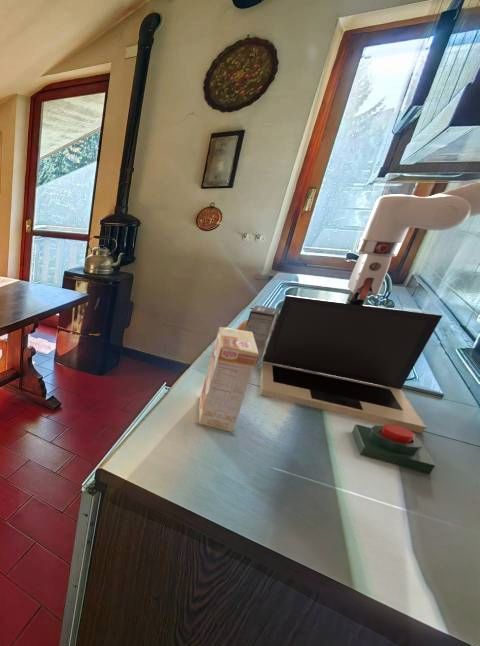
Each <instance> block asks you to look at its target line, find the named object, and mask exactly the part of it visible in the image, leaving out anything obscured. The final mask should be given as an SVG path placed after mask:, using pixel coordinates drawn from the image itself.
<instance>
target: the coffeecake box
mask: <svg viewBox="0 0 480 646" xmlns="http://www.w3.org/2000/svg"><path fill="white" fill-rule="evenodd" d="M213 345H214V346H213V348H212V349H213V350H212V352H211V355H210V360H209V363H208V367H207V370H206V374H205V378H204V381H203V385H202V389H201V392H200V395H199V408H198V409H199V410H198V424H199V425H201V426H204V427H205V426H206V427H210V428H215V429H218V430H221V431H226V432H230V433H234V430H235V428H236V427H235V426H236V424H237V421H238V418H239V416H240V415H239V414H240V411H241V408H242V406H243V403H244V400H245V397H246V395H247V391H248V388H249V385H250V381H251V378H252V375H253V372H254V369H255V365H256V364H255V363H256V360H257V357H258V355H259V354H258V350H257V346H256V343H255V339H254V336H253V333H252V332H249V331H242V330H237V328H236V329H235V328H231V327H224V326H219V327H218V331H217V335H216V338H215V342H214V344H213Z"/></svg>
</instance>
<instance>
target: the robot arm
mask: <svg viewBox="0 0 480 646" xmlns="http://www.w3.org/2000/svg"><path fill="white" fill-rule="evenodd" d="M479 215H480V180H479V181H475V182H472V183H469V184H466V185H463V186H459V187H456V188H452V189H450V190H446V191H443V192H440V193H436V194H434V195H431V196H416V195H408V194H407V195H406V194H386V195H381V196H380V197H378V199H376V201H375V203H374V205H373V208H372V210H371V213H370V214H369V218H368V220H367V223H366V224H365V228H364V230H363V233H362V236H361V237H360V240H359V243H358V244H357V247H356V250H355V253H356V254H359V256H358V258H357V261H356V263H355V264H354V267H353V269H352V271H351V275H350V277H349V280H348V283H347V288H348V289H349V294H348V296H347V298H346V301H345V303H352V304H360V305H365V304H364V303H365V302H366V300H367V297H368V296H369V294H371V295H372V296H373V297H376V296H378V295H379V293H380V291H381V289H382V287H383V284H384V281H385V279H386V277H387V273H388V271H389V268H390V264H391V261H392V258H393V257H397V256H398V254H399V251H400V249H401V247H402V245H403V242H404V241H405V239H406V236H407V234H408V232H409V229H410V228H416V229H422V230H427V231H447V230H449V229H453V228H455V227H458V226H460V225H461V224H463V223H464V222H465V221H466V220H467V219H468V218H471V217H474V216H479Z"/></svg>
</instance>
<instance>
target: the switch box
mask: <svg viewBox="0 0 480 646" xmlns="http://www.w3.org/2000/svg"><path fill="white" fill-rule="evenodd" d="M383 427H384V425H374V426H372V427H369V426H366V425H360V424H357V423H356V424H355V425H354V427H353V429H352V431H351V434H352V436H353V440H354V442H355V445H356V448H357V450H358V453H359V456H361V457H365V458H368V459H372V460H377V461H380V462H383V463H387V464H390V465H394V466H398V467H402V468H404V469H409V470H411V471H416V472H419V473H423V474H427V475H431V473H432V472H433V470H434V469H435V468H436V464H435V463H434V462H433V460H432V458H431V456H430V455H429V453H428V452H427V450H426V448H425V446H424V443H423V442H422V441H421V439H419V438H418V437H416V436H414V438H413V440H412V441H411V443H401V442H397V441H394V440H392V439H389V438H387V437H385V436H383V435H382V434H381V431H382V429H383Z"/></svg>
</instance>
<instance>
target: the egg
mask: <svg viewBox="0 0 480 646" xmlns="http://www.w3.org/2000/svg"><path fill="white" fill-rule="evenodd" d="M247 321H248V319H245V320H244V321H242V322H241V323H240V324H238V326H237V327H236V329H237V330H242V331H245V328H246V324H247Z"/></svg>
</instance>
